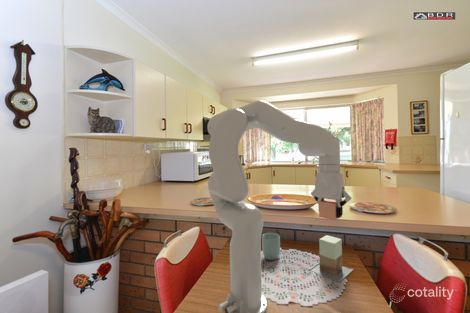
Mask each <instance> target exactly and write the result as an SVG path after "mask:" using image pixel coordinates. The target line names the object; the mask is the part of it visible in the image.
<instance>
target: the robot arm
mask: <svg viewBox="0 0 470 313" xmlns="http://www.w3.org/2000/svg"><path fill="white" fill-rule="evenodd" d="M206 129H207V132H208V134H209V136H210V140H209V143H208V144H209V145H208V157H209V161H210V164H211V166H212V171H213V172H212V173H211V174H210V175H209V177H208V181H207V188H208V191H209V195H210V198H211V201H212V204H213V206H214V209H215V212H216V214H217V217H218V219H219V220H220V222H221V223H222V224H224V226H226V227H228V228H229V229H230V230H231V231H232V234H231V238H230V241H229V242H230V244H229V270H230V272H229V273H230V276H229V277H230V292H228V294H227V298H226V300H224V301H223V302H221V303H219V304H218V305H217V308H218V311H219V312H220V313H221V312H224V311H225V310H226V311H227V313H266V311H267V307H268V301H267V298H266V296H265V295H264V294H263V292H262V289H263V288H262V286H263V285H262V255H261V254H262V252H261V251H262V250H261V248H262V247H261V246H262V235H263V234H262V233H263V228H264V217H263V214H262V212H261V211H260V209H259V208H258V207H257V206H255V205H253V204H251V203H250V202H246V201H245V200H246V198H247V197H248V194H249V188H250V187H249V183H248V180H247V177H246V176H247V175H246V174H245V170H244V167H243V165H242V162H241V157H240V154H239V146H240V142H241V139H242V137H243V135H244V134H245V133H246V131H247V132H248V131H249V130H253V129H259V130H261V131H263V132H265V133H266V134H268V135H271V136H272V137H274V138H276V139H277V140H279V141H282V142H284V143H285V142H286V143H291V144H298V151H299V152H300V153H301V154H302V155H303V156H306V157H318V164H317V165H315V168H316V170H317V169H318V171H316V176H315V181H314V182H315V183H314V189H313V190H312V191H311V193H310V195H311V196H312V197H313V198H314V200H315V202H316V203H317V205H319V201H322V200H325V199H328V200H335V201H336V203H337V207H336V217H337V218H338V219H340V218H342V217H341V216H343V207H344V206H345V205H346V204H347V203H349V201H351V200H352V197H351V195H349V193H348V192H347V191H346V189H345V188H346V187H345V180H344V175H343V173H342V172H341V147H340V146H341V143H340V142H341V140H340V138H339V137H338V136H335V134H333V133H331V132H330V131H329V130H327V129H325V128H324V127H322V126H320V125H316V124H313V123H311V122H307V121H303V120H301V119H296V118H293V117H292V116H290V115H289V114H288V113H286V112H284V111H283V110H280V108H278V107H276V106H275V105H273V104H271V103H270V102H268V101H266V100H262V99H261V100H256V101H253V102H250V103H247V104H245V105H242V106H239V107H237V108H236V107H234V108H229V109H226V110H223V111H222V112H219V113H217V114H215V115H213V116H212V117H211V118H210V119H209V120H208V123H207V127H206ZM339 217H340V218H339Z"/></svg>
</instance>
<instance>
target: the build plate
mask: <svg viewBox="0 0 470 313" xmlns="http://www.w3.org/2000/svg"><path fill="white" fill-rule="evenodd" d="M308 271H311V272H313V273H315V274H318V275H321V276H323V277H325V278H328V279H329V280H332V281H334V282H336V283H342V281H344V279H346V278H347V277H348V276H349V275H350V274H351V273H352V272H353V271H354V269H353V268H348V267H346V266H343V265H342V271H340V272H339V273H338V274H337V275H336V276H334V275H332V274H329V273H327V272H324V271H322V270H320V260H319V261H318V262H317V263H314V264H313V265H312V266H311V267H309V268H308Z"/></svg>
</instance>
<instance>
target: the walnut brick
mask: <svg viewBox="0 0 470 313" xmlns="http://www.w3.org/2000/svg"><path fill="white" fill-rule="evenodd" d="M319 261H320V270H322V271H324V272H327V273H329V274H332V275H334V276H336V275H337V274H338V273H339V272H340V271H342V266H343V254H342V255H341V256H339V257H338V258H337V259H335V260H334V259H331V258H328V257H325V256H323V255H320V254H319Z"/></svg>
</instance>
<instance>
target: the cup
mask: <svg viewBox="0 0 470 313" xmlns="http://www.w3.org/2000/svg"><path fill="white" fill-rule="evenodd" d="M261 246H262V247H261V248H262V254H263V257H264V258H265V259H266V260H267V259H268V261H276V260H278V259H279V257H280V253H281V252H280V251H281V237H280V235H279V234H278V233H275V232H266V233H263V234H261ZM277 258H278V259H277ZM275 259H276V260H275Z"/></svg>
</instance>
